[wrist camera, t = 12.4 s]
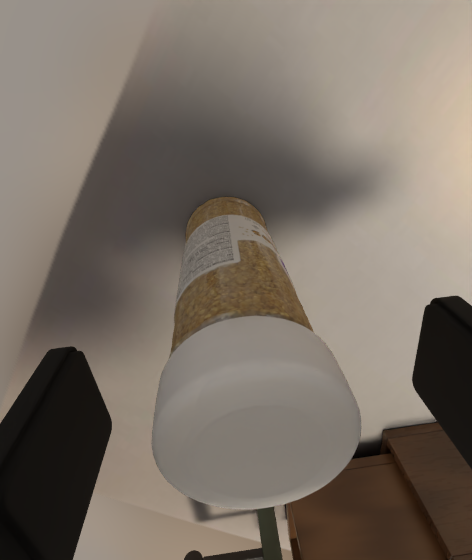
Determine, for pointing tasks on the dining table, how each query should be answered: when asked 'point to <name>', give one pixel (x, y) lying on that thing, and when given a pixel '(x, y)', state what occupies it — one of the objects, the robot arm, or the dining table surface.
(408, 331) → the dining table surface
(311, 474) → the sprinkles bottle
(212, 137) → the dining table surface
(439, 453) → the cabinet
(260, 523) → the drawer
